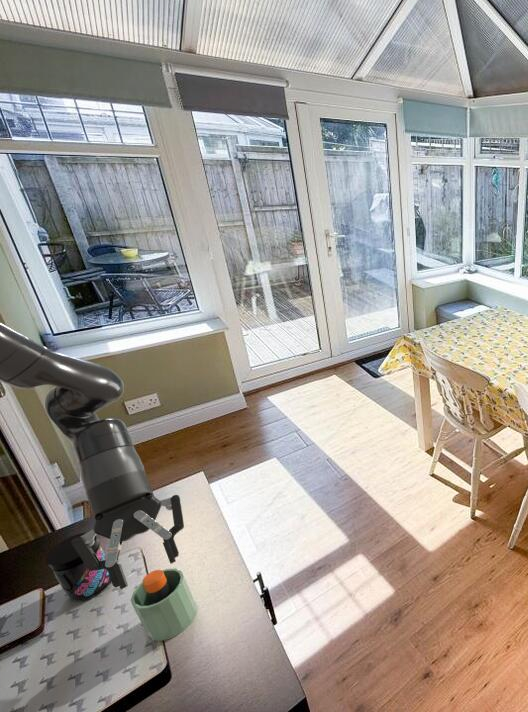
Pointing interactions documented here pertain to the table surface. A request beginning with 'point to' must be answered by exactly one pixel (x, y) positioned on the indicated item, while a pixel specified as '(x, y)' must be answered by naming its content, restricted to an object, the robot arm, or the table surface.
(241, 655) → the table surface
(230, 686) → the table surface
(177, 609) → the tumbler
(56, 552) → the supplement container
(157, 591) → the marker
